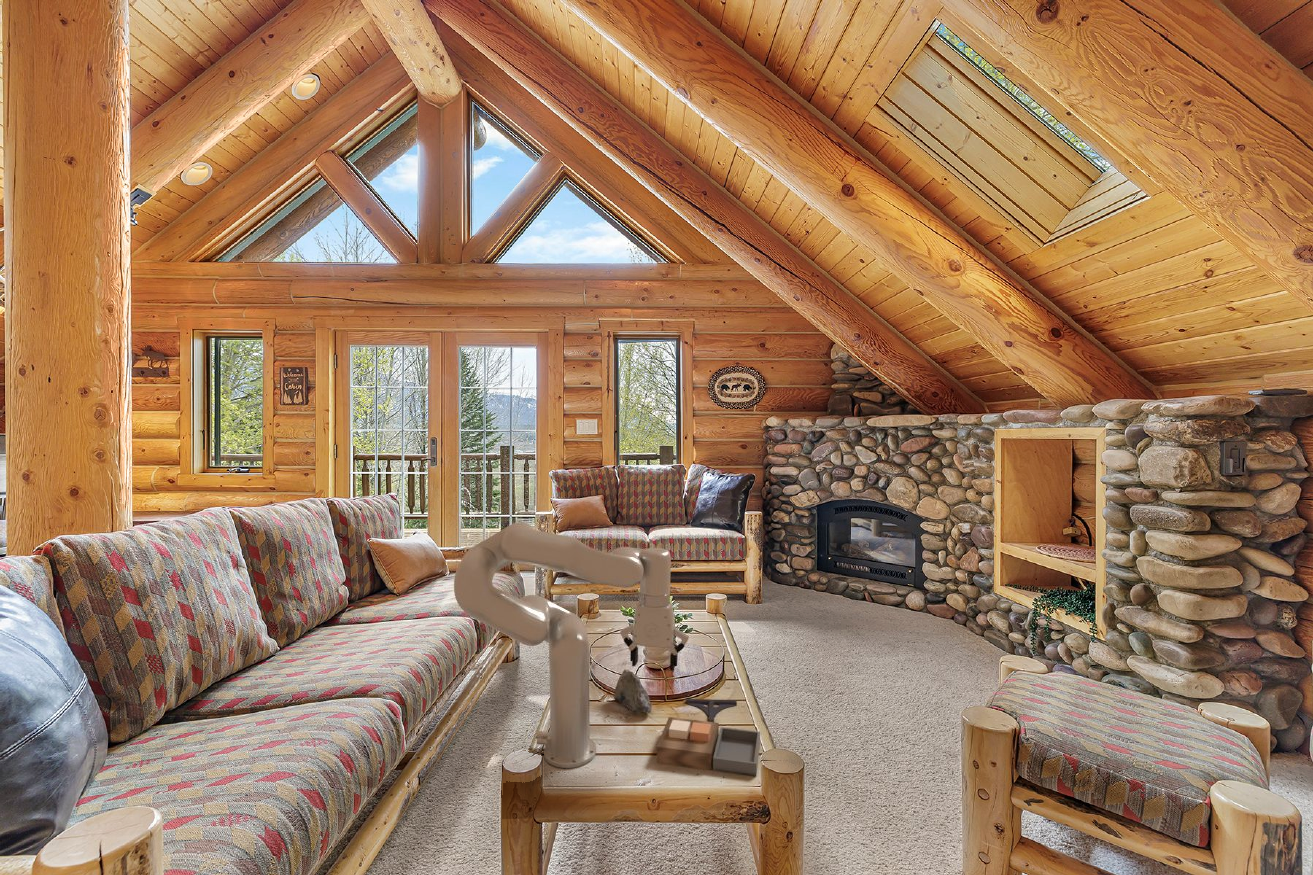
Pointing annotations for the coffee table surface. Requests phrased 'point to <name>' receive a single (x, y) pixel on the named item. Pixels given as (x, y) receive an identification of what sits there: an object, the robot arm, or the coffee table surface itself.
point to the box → (737, 751)
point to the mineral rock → (632, 693)
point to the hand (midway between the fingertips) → (653, 666)
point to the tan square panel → (687, 748)
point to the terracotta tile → (700, 732)
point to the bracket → (711, 706)
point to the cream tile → (679, 729)
